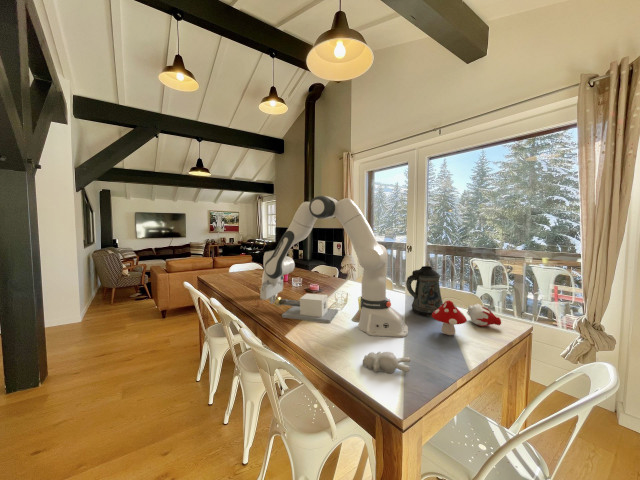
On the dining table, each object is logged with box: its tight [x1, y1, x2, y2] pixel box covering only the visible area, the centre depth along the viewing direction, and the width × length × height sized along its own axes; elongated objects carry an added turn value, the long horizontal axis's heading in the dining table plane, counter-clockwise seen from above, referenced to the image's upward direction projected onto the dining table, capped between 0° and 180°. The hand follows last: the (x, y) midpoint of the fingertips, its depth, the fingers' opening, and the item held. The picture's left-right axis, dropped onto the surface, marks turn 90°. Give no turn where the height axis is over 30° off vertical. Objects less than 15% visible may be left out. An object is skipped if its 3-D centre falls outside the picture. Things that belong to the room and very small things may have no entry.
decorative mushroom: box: [431, 300, 468, 336], centre depth 110 cm, size 14×14×15 cm
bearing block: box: [281, 292, 339, 324], centre depth 136 cm, size 26×16×10 cm, turn 72°
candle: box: [466, 303, 502, 328], centre depth 120 cm, size 9×11×15 cm
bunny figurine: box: [362, 351, 411, 374], centre depth 85 cm, size 10×5×15 cm
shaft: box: [274, 296, 300, 308], centre depth 139 cm, size 18×5×5 cm, turn 72°
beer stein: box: [405, 265, 444, 318], centre depth 137 cm, size 16×19×25 cm
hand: (272, 303), depth 143 cm, fingers closed
